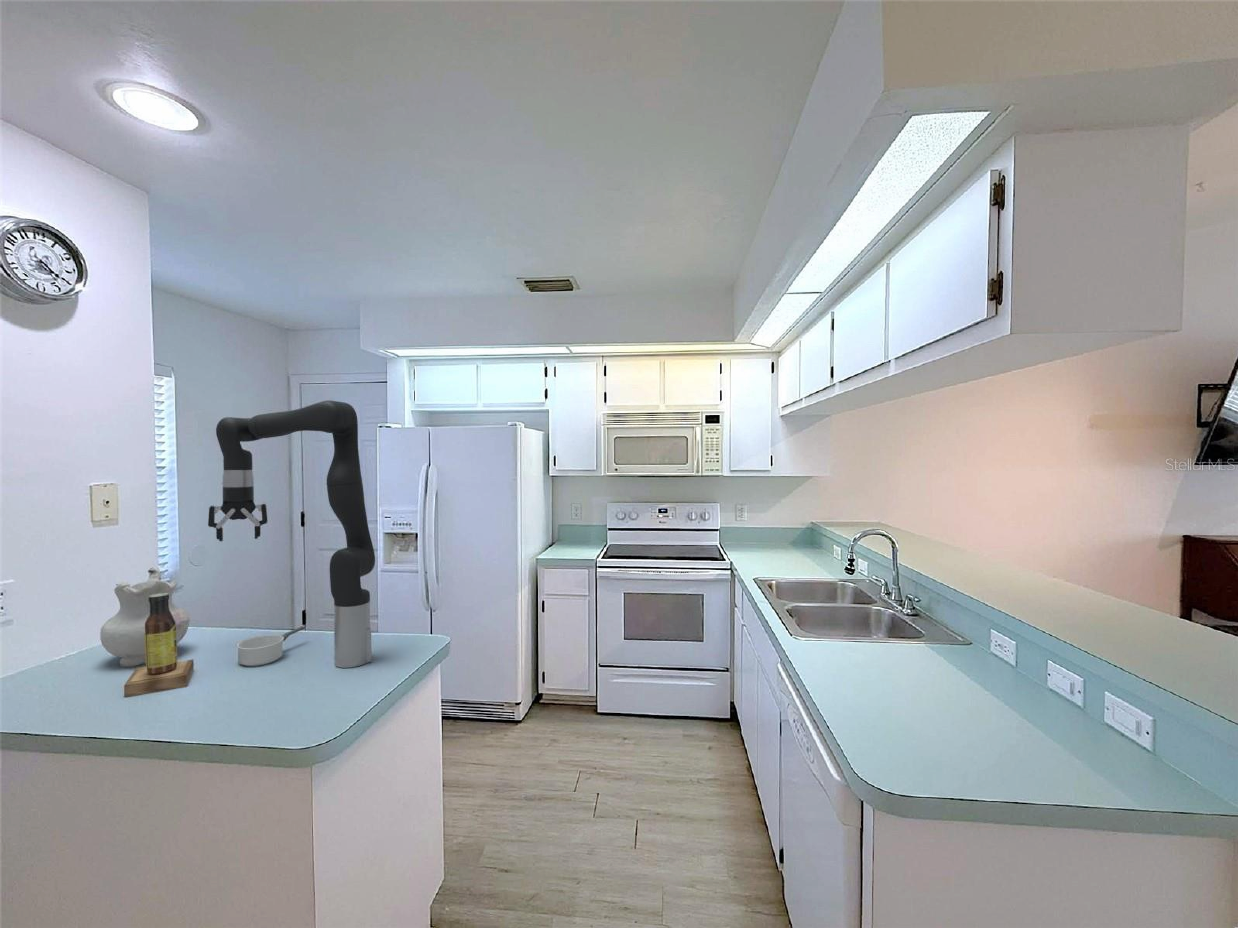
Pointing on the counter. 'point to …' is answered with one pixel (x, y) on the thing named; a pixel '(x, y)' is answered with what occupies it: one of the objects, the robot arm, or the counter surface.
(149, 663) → the sauce bottle
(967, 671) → the counter surface
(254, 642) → the saucepan
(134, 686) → the walnut base block
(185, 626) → the ceramic pitcher
